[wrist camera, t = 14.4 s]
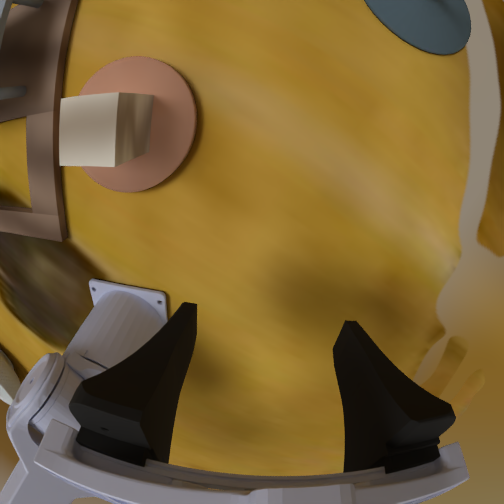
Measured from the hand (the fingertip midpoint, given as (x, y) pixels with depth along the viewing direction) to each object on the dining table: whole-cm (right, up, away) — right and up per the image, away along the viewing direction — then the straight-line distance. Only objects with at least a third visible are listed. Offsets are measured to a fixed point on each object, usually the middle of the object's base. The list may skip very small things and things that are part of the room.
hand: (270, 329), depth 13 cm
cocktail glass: (+12, +23, -2) cm, 26 cm away
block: (-10, +12, +3) cm, 16 cm away
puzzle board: (-24, +17, +3) cm, 29 cm away
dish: (-10, +13, +4) cm, 17 cm away
